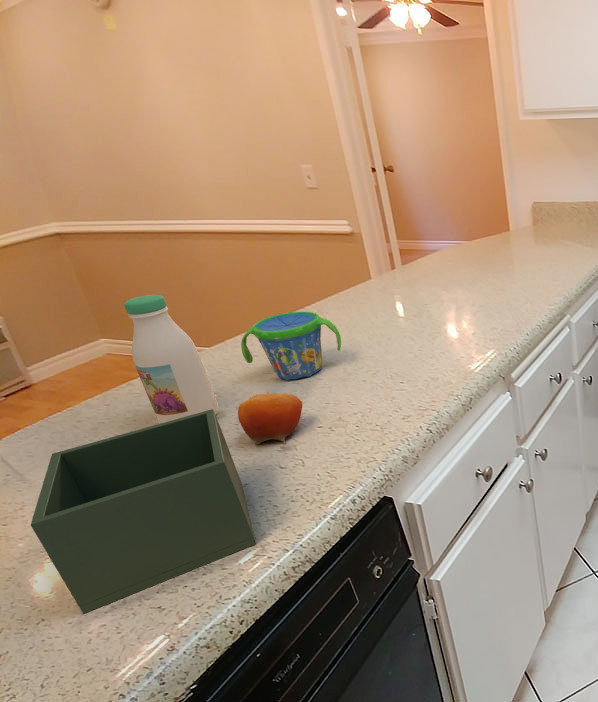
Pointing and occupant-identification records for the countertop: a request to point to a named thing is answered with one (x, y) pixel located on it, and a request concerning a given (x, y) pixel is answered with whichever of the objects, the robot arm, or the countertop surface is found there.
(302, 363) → the snack cup
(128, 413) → the countertop surface
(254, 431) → the fruit
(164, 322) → the milk bottle
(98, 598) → the bin
